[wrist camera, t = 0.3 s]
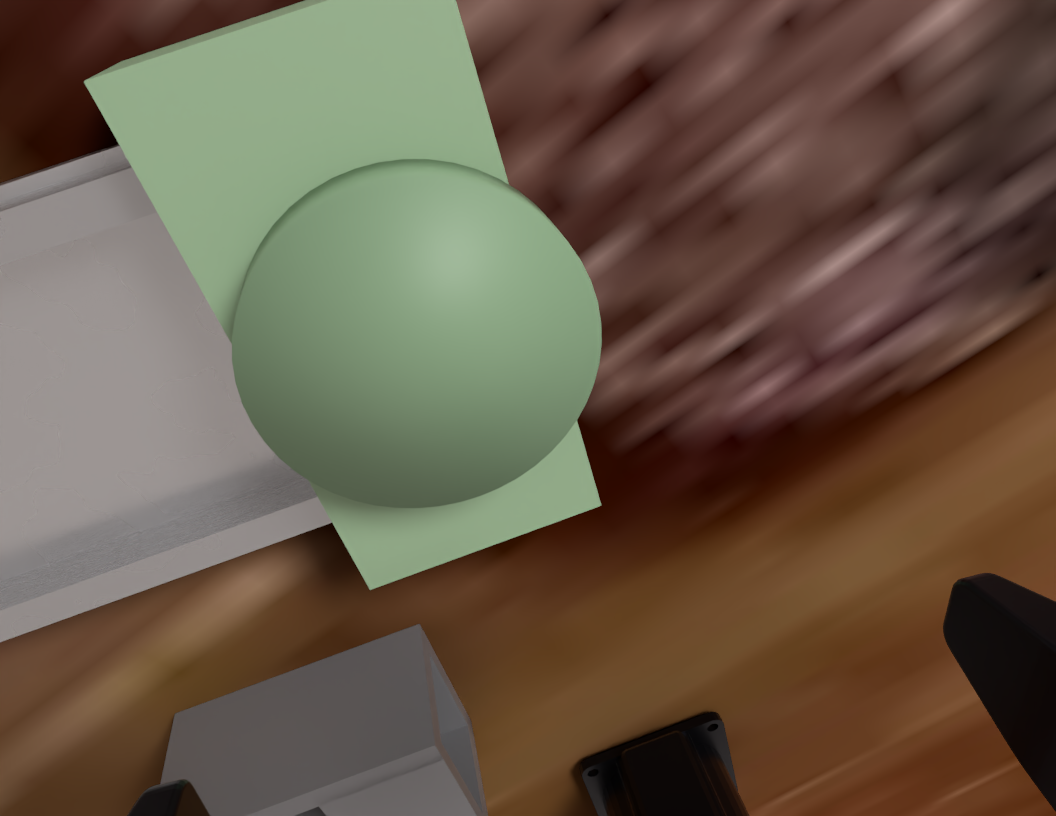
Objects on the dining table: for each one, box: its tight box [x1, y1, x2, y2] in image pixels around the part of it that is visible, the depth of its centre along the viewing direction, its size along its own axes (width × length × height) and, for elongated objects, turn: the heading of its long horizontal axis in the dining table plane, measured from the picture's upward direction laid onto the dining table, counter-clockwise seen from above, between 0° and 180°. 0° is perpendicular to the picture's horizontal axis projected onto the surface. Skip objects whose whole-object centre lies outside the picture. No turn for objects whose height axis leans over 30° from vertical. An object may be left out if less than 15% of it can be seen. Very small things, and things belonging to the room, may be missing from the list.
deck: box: [0, 0, 602, 642], centre depth 18 cm, size 14×19×4 cm
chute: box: [160, 624, 488, 816], centre depth 26 cm, size 6×9×5 cm, turn 106°
